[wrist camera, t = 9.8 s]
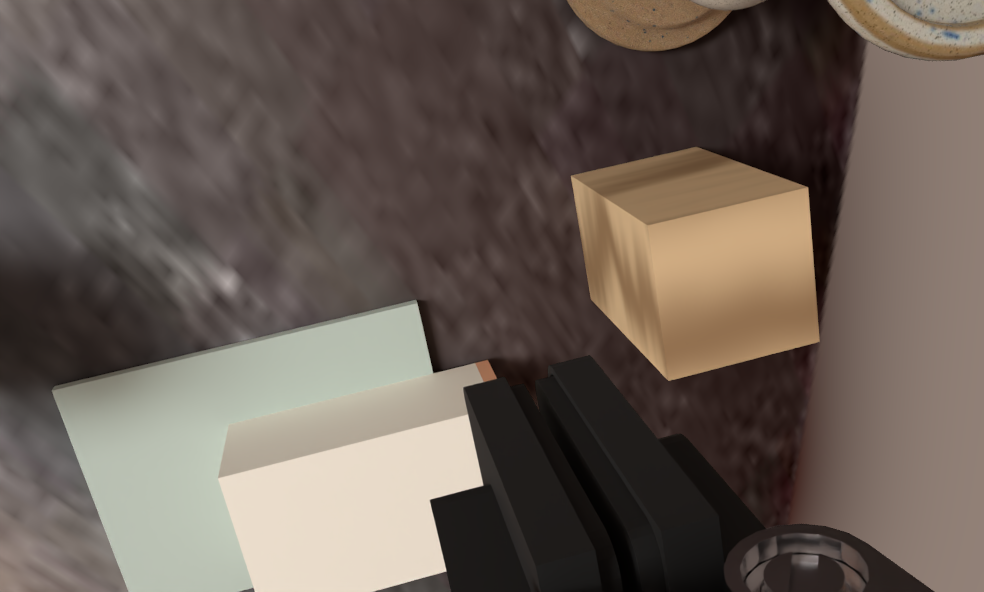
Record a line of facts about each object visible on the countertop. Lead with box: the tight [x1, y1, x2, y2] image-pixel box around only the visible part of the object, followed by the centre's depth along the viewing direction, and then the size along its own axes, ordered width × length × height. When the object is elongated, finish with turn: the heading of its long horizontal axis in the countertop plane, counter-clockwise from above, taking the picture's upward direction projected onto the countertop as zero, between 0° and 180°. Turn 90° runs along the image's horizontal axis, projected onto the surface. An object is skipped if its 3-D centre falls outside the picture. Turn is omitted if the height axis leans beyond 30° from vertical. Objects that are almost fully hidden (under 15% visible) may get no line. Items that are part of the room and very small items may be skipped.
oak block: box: [571, 147, 820, 381], centre depth 37 cm, size 6×6×10 cm
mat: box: [52, 300, 433, 592], centre depth 42 cm, size 12×16×1 cm
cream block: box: [218, 360, 497, 592], centre depth 40 cm, size 7×5×12 cm
